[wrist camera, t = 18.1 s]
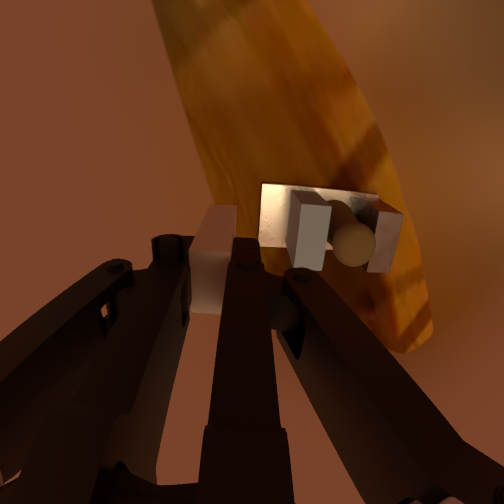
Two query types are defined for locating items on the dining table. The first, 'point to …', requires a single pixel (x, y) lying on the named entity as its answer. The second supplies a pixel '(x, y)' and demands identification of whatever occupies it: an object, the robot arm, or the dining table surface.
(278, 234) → the vise
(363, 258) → the wooden pawn
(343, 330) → the robot arm
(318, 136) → the dining table surface
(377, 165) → the dining table surface
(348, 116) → the dining table surface
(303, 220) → the block
